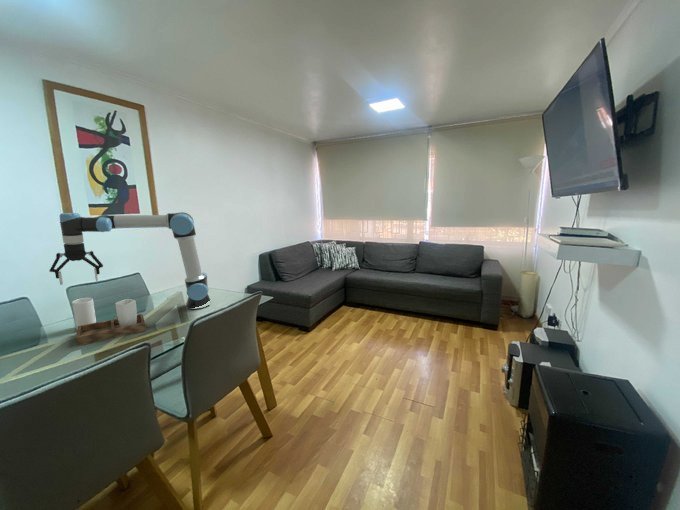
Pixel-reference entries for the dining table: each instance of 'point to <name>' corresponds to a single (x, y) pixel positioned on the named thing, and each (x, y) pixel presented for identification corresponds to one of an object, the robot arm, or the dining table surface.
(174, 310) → the dining table surface
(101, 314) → the dining table surface
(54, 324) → the dining table surface
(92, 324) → the tray
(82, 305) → the cup
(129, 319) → the cup
